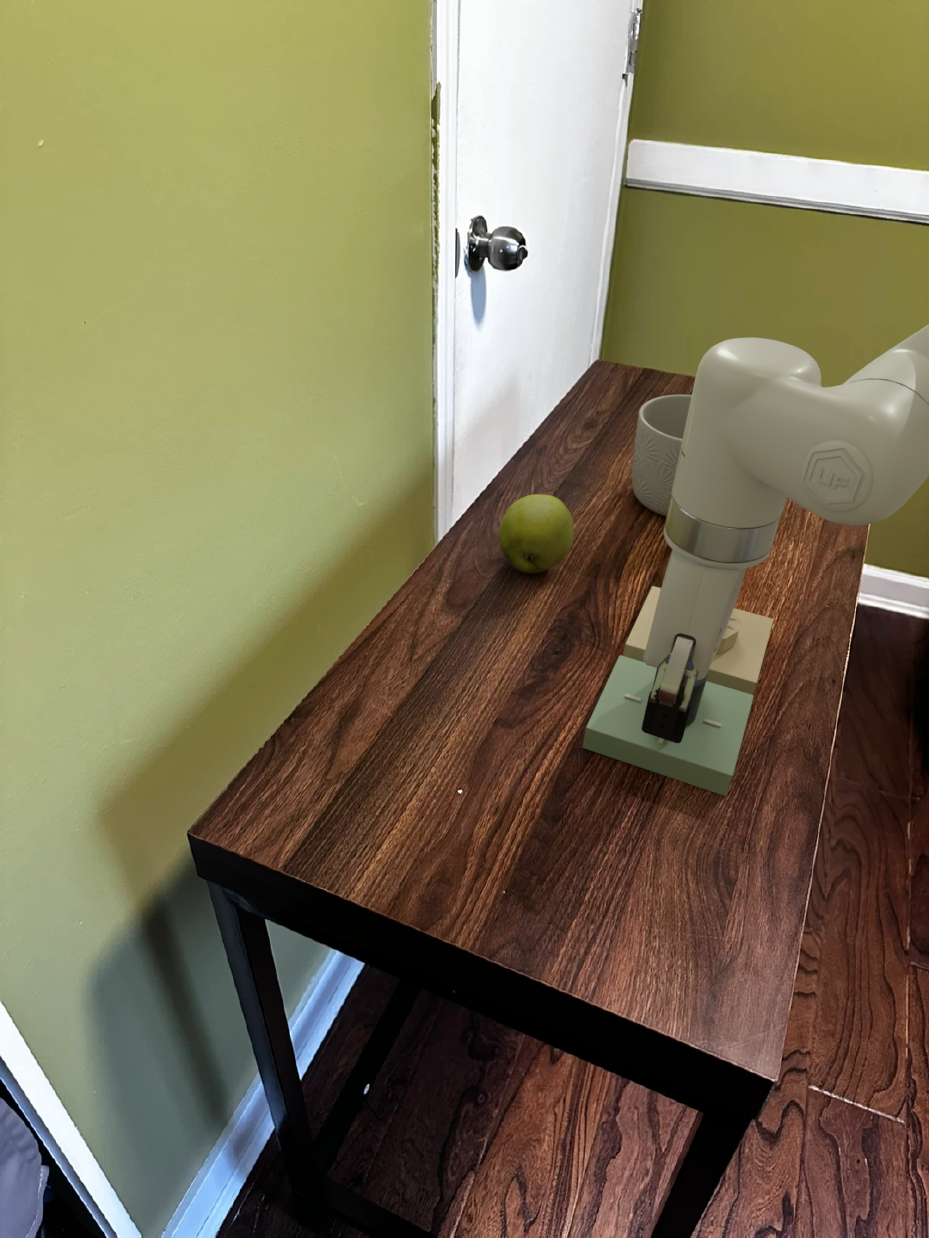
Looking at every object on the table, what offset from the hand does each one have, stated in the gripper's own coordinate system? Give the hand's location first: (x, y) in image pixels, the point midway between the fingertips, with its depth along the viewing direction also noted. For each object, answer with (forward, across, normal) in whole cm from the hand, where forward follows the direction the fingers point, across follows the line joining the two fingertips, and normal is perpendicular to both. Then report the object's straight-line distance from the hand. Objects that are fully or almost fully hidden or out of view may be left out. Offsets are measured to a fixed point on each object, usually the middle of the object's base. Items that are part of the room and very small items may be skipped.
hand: (676, 696), depth 71 cm
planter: (+4, -38, -8) cm, 39 cm away
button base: (+4, -12, 0) cm, 13 cm away
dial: (+2, 0, 0) cm, 2 cm away
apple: (+4, -18, -19) cm, 27 cm away
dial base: (+4, 0, 0) cm, 4 cm away
